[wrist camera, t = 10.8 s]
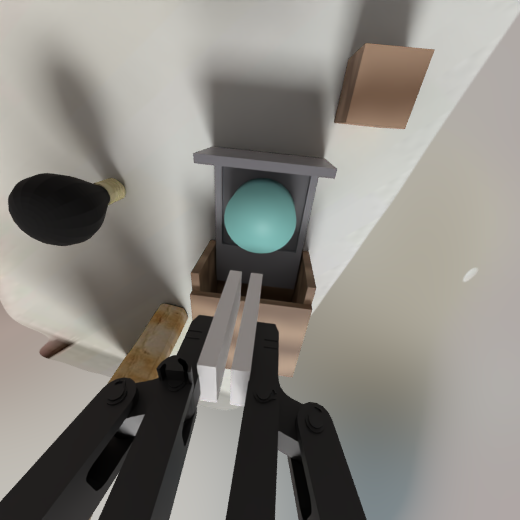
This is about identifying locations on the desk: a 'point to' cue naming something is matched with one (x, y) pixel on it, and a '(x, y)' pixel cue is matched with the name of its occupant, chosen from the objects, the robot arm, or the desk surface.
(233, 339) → the box
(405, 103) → the block
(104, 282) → the desk surface
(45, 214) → the light bulb
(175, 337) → the tan piece
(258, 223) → the teal rounded puck
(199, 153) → the tray
